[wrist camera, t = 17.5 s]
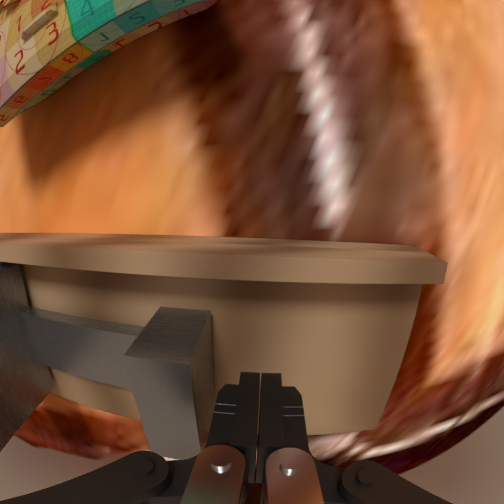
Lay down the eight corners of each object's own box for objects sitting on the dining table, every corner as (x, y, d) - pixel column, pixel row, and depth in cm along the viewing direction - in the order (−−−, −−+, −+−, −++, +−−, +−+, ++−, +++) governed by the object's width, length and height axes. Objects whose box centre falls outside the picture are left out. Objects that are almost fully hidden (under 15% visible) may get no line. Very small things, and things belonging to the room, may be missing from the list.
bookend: (209, 277, 10) (87, 524, 2) (216, 422, 12) (184, 587, 3) (7, 261, 11) (-121, 329, 2) (41, 380, 13) (-37, 471, 4)
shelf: (414, 245, 11) (615, 377, 1) (370, 414, 14) (420, 568, 3) (-33, 233, 12) (-140, 276, 2) (-2, 357, 15) (-77, 427, 4)
